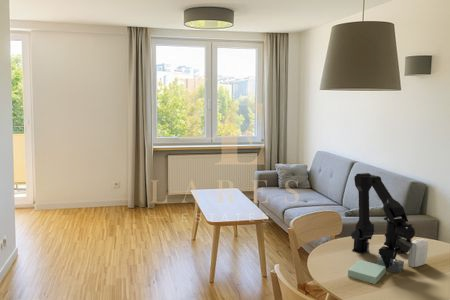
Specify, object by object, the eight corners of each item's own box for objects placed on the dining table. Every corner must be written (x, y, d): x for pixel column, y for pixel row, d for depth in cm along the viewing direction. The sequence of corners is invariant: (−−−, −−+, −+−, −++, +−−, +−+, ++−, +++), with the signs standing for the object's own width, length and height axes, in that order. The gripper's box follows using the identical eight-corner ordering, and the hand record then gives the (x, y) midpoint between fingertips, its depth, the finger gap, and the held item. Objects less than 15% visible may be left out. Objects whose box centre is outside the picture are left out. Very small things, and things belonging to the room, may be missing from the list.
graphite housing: (376, 267, 203) (377, 257, 202) (381, 263, 207) (382, 253, 206) (398, 273, 196) (398, 263, 195) (403, 269, 200) (404, 259, 200)
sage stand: (347, 276, 192) (348, 269, 191) (358, 265, 203) (359, 259, 202) (375, 284, 185) (375, 277, 184) (385, 272, 196) (385, 266, 195)
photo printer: (419, 260, 210) (421, 236, 208) (427, 263, 207) (430, 238, 205) (406, 265, 205) (408, 240, 203) (414, 268, 201) (417, 242, 199)
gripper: (405, 241, 187) (402, 276, 189) (416, 230, 201) (413, 262, 204) (379, 236, 193) (376, 269, 196) (391, 225, 208) (389, 256, 210)
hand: (390, 264), depth 201 cm, fingers open, 9 cm apart
